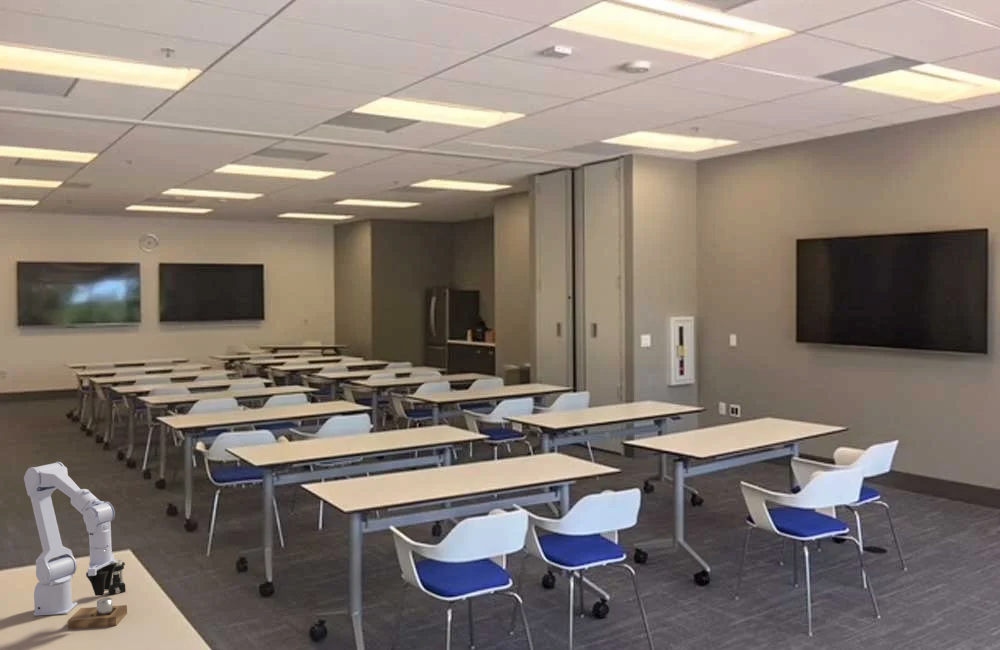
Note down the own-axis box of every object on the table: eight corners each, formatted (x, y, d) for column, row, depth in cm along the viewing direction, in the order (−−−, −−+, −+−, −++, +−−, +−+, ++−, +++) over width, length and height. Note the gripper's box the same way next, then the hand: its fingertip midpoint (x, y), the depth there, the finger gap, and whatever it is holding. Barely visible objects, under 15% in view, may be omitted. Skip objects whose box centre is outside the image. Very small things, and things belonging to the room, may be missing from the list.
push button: (104, 598, 253) (103, 566, 253) (101, 593, 258) (100, 562, 257) (127, 592, 257) (126, 561, 257) (124, 588, 262) (122, 557, 261)
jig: (68, 628, 230) (67, 620, 230) (81, 616, 239) (80, 608, 239) (116, 625, 231) (115, 617, 231) (127, 613, 240) (126, 605, 240)
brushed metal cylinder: (95, 624, 233) (94, 603, 233) (100, 618, 237) (99, 598, 237) (110, 622, 234) (109, 602, 233) (114, 617, 237) (113, 597, 237)
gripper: (105, 552, 228) (107, 600, 228) (123, 537, 242) (125, 582, 242) (79, 554, 227) (81, 602, 227) (99, 538, 241) (101, 583, 242)
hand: (102, 592), depth 235 cm, fingers open, 4 cm apart
